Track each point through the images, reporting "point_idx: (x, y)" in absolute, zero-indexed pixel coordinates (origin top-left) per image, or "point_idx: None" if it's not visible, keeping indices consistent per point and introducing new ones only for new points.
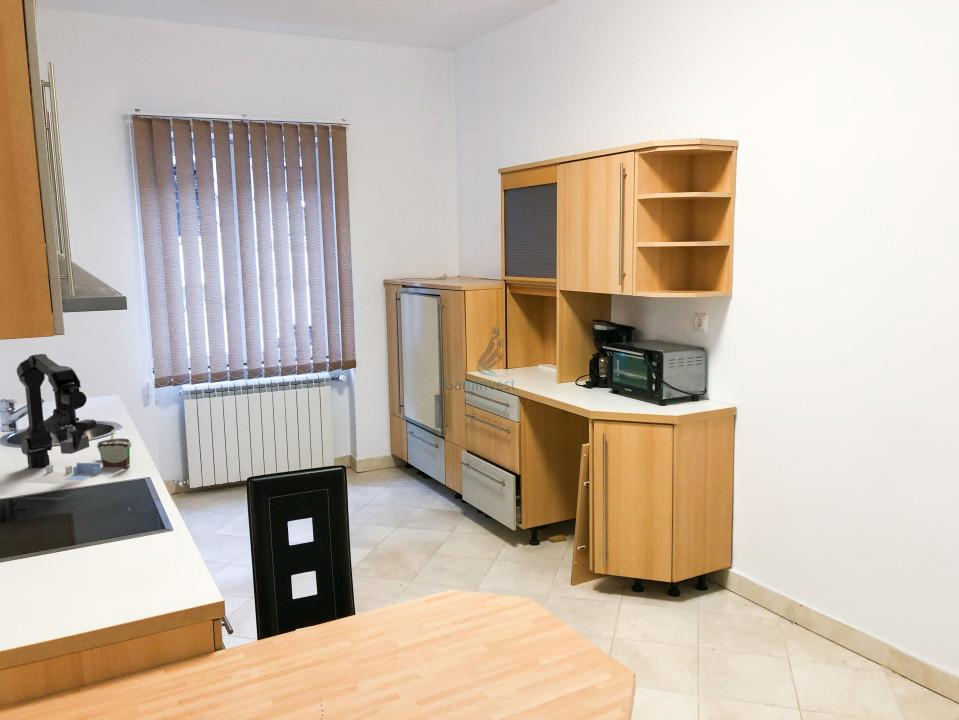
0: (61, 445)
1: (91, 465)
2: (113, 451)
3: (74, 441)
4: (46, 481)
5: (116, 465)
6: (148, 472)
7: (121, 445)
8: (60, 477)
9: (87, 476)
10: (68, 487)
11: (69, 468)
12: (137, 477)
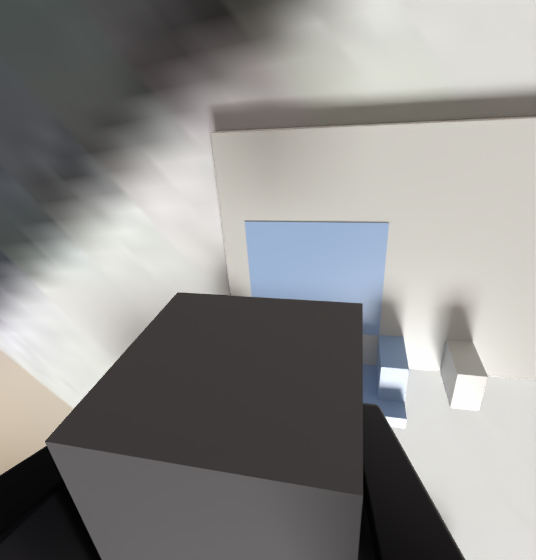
0: (325, 405)
1: None
2: None
3: (8, 482)
4: (531, 155)
5: None
6: (52, 382)
7: None
8: (461, 266)
9: (262, 293)
10: (255, 92)
11: (452, 376)
12: (28, 317)
